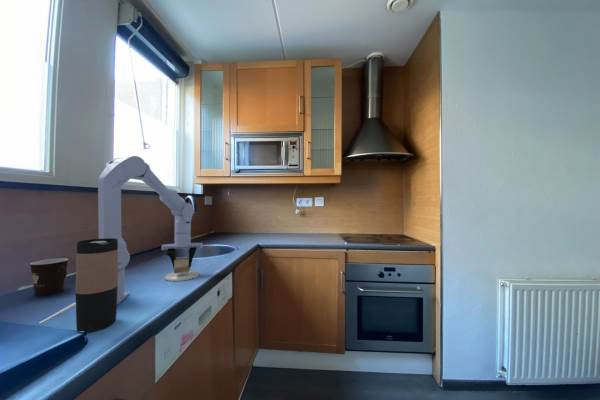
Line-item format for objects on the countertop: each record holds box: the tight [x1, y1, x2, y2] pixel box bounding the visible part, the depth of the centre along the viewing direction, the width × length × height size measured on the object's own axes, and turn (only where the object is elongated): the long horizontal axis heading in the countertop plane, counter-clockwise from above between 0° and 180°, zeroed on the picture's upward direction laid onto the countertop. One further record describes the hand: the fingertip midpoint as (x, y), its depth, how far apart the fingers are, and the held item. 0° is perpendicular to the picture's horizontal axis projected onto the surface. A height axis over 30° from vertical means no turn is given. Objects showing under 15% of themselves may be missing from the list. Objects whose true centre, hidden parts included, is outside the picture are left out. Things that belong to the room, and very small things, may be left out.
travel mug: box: [75, 238, 118, 334], centre depth 57 cm, size 8×8×20 cm
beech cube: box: [173, 256, 191, 273], centre depth 95 cm, size 5×5×5 cm
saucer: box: [164, 269, 200, 282], centre depth 95 cm, size 12×12×1 cm
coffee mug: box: [29, 257, 69, 297], centre depth 78 cm, size 12×9×10 cm
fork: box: [38, 301, 76, 324], centre depth 68 cm, size 3×20×2 cm, turn 6°
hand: (182, 267), depth 95 cm, fingers closed on beech cube, 5 cm apart
